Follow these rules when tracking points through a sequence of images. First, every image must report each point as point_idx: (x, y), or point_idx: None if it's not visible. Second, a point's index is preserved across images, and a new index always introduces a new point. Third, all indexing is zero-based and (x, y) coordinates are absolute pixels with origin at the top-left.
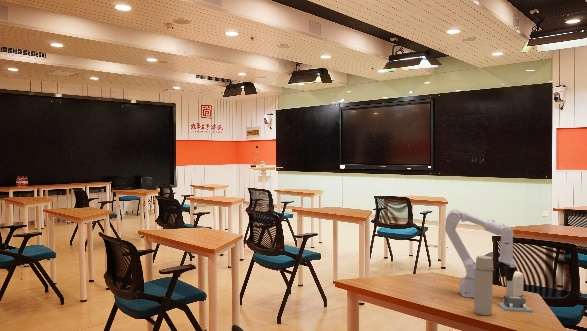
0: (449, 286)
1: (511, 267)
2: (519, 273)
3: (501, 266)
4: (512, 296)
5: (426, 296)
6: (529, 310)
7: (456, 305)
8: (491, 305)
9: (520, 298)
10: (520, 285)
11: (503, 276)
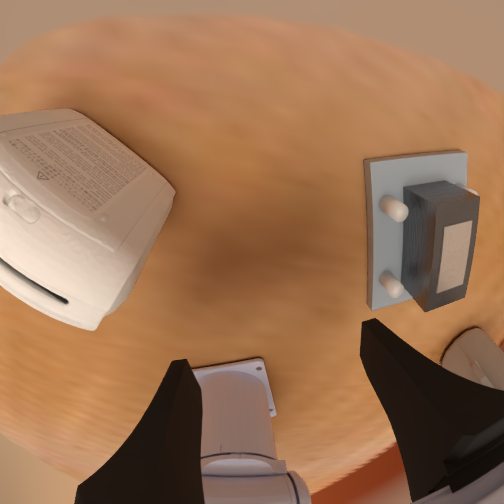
0: (119, 433)
1: (494, 449)
2: None
3: (193, 497)
4: (441, 269)
5: (297, 467)
6: (464, 167)
7: (384, 413)
8: (495, 346)
9: (470, 226)
10: (69, 139)
11: (193, 377)
